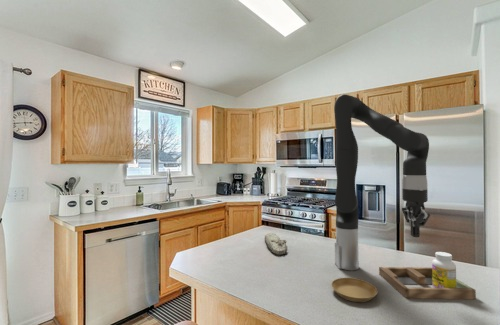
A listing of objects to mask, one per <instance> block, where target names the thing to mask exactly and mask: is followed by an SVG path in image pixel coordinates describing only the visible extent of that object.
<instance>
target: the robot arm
mask: <svg viewBox="0 0 500 325" xmlns="http://www.w3.org/2000/svg"><path fill="white" fill-rule="evenodd" d="M333 109H334V111H333V112H334V121H335V172H336V189H335V196H334V205H335V207H336V213H335V214H336V216H335V242H334V264H335V266H336V268H338V269H340V270H346V271H357V270H359V268H360V261H359V260H360V259H359V257H360V256H359V253H360V252H359V247H360V246H359V200H358V197H357V192H356V176H357V171H358V163H359V161H358V160H359V144H358V141H357V139H356V136H355V133H354V131H353V126H352V119H355V120H359V121H361V122H363V123H364V124H366V125H368V127H369V128H370V129H371V130H373V131H374V132H375V133H377V134H379V135H380V136H382V137H383V138H386V139H388V140H389V141H390V142H392V143H393V144H394V145H395V146H397V147H398V148H400V149H402V150H404V151H406V153H407V154H406V155H407V156H406V159H404V161H403V162H402V179H401V182H402V183H401V184H402V185H401V186H402V187H401V188H402V189H401V190H402V192H401V194H402V200H403V201H404V202H405V207H402V208H401V211H402V214H403V217H404V218H405V221H406V223H408V224H409V226H410V236H411V237H413V238H419V237H420V236H421V234H420V227H425V225H426V223H427V222H428V220H429V218H430V217H431V214H430V213H429V212H426V211H425V209H426V207H425V203H427V202H429V201H428V198H429V197H428V195H429V194H428V178H427V160H428V156H429V150H430V139H429V138H428V136H427V135H426V134H425V133H422V132H417V131H414V130H412V129H409V128H407V127H405V126H404V125H403V124H402V123H400V122H399V121H397V120H394V119H393V118H391V117H388V116H387V115H384V114H382V113H379V112H378V111H376V110H375V109H373V108H371V107H369V106H368V105H366V104H365V103H364V102H363V101H362V100H360V99H359V98H358V97H356V96H353V95H350V94H341V95H338V96H337V98H336V100H335V102H334V107H333Z"/></svg>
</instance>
